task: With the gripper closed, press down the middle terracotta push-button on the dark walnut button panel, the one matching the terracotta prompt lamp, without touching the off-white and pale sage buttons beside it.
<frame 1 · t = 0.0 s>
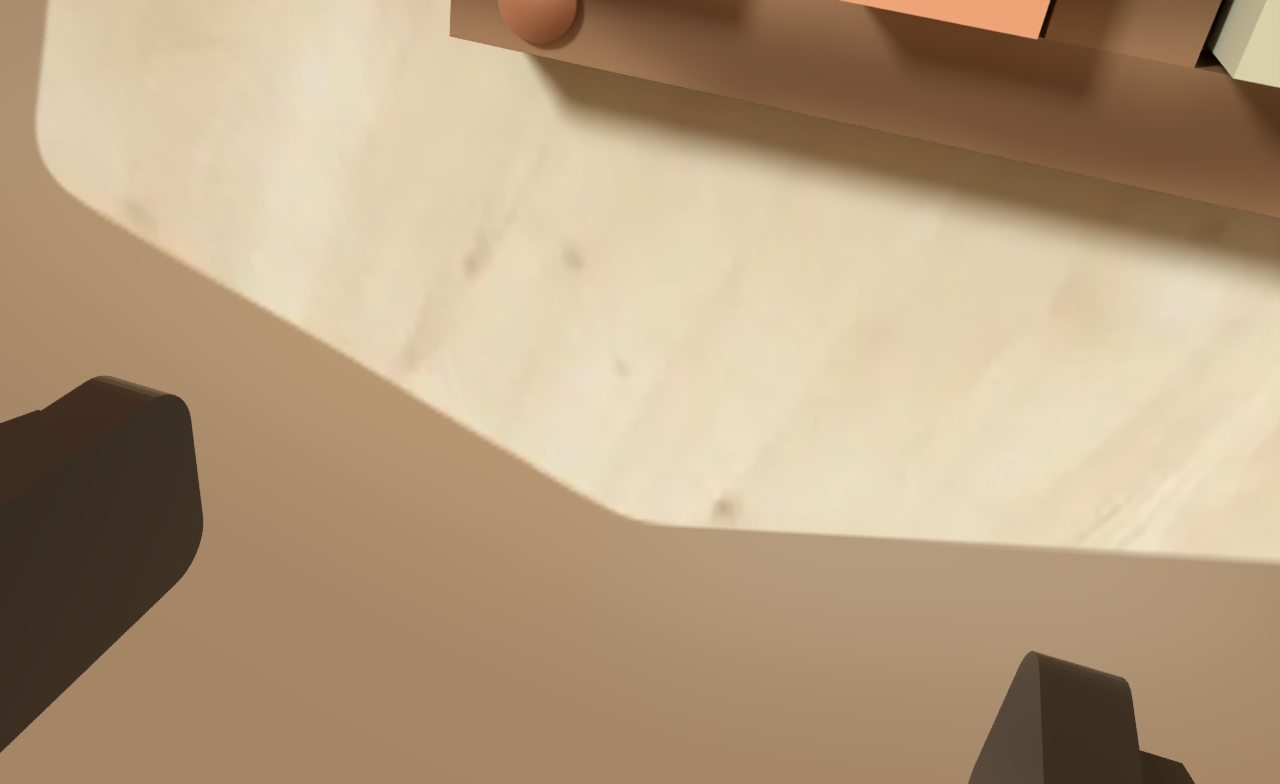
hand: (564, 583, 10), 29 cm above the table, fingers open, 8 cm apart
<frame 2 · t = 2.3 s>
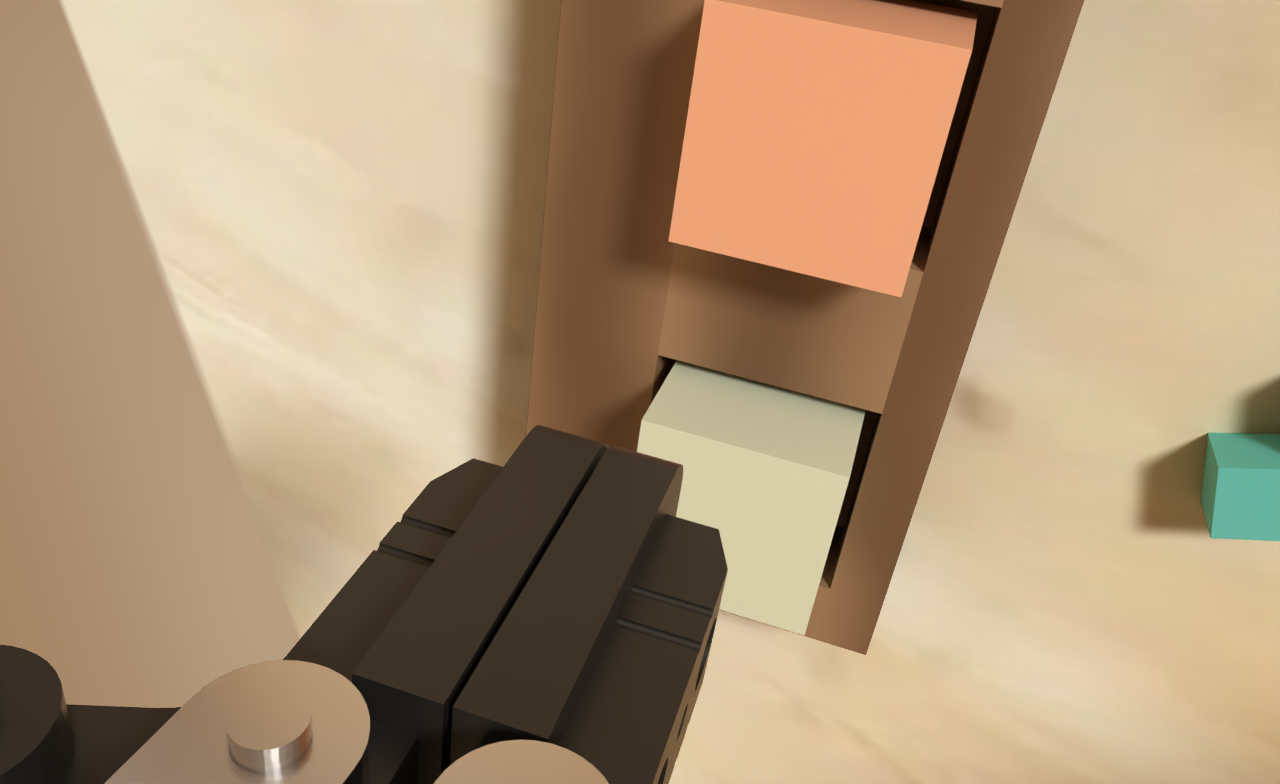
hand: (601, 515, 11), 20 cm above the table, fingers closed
terracotta button: (821, 127, 23), point 5 cm above the table, slide at 0.0 cm
button panel: (810, 72, 27), on the table
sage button: (742, 488, 28), point 5 cm above the table, slide at 0.0 cm
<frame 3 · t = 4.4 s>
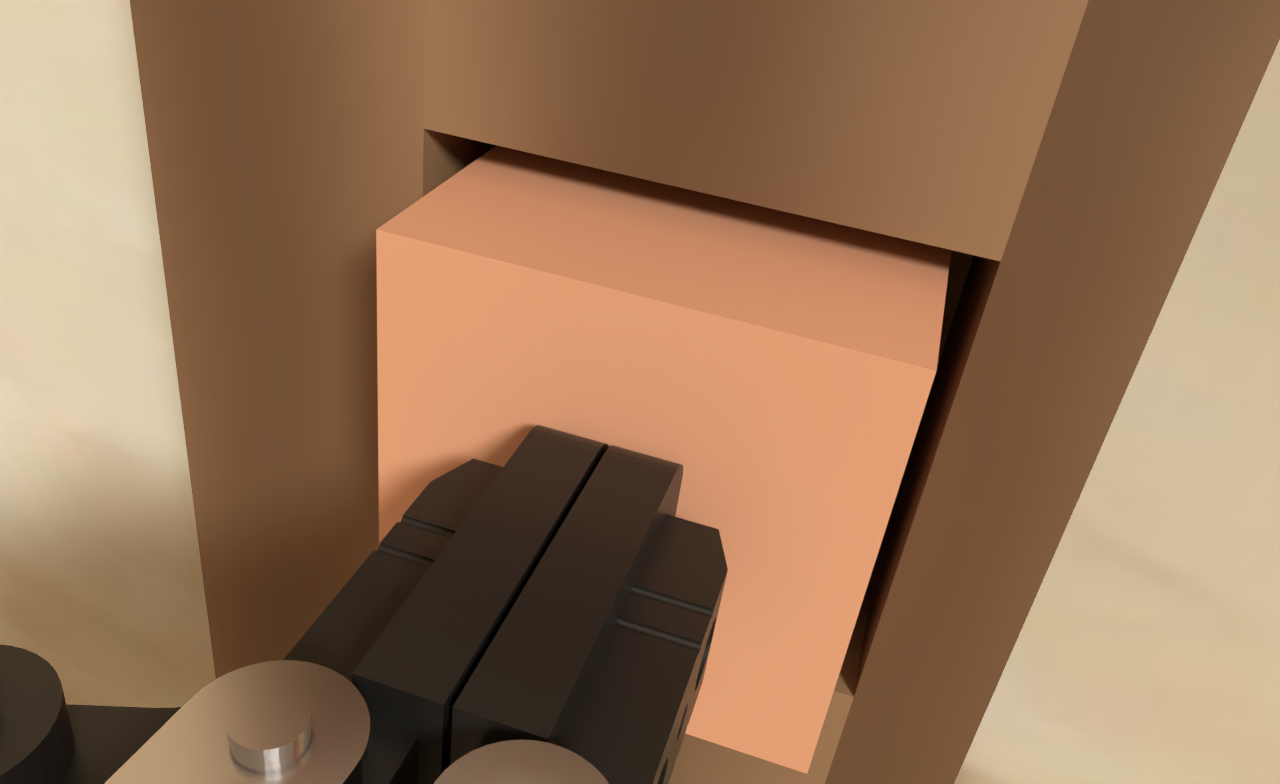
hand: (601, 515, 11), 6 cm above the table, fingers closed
terracotta button: (663, 425, 12), point 4 cm above the table, slide at 0.9 cm, touching gripper
button panel: (667, 281, 16), on the table
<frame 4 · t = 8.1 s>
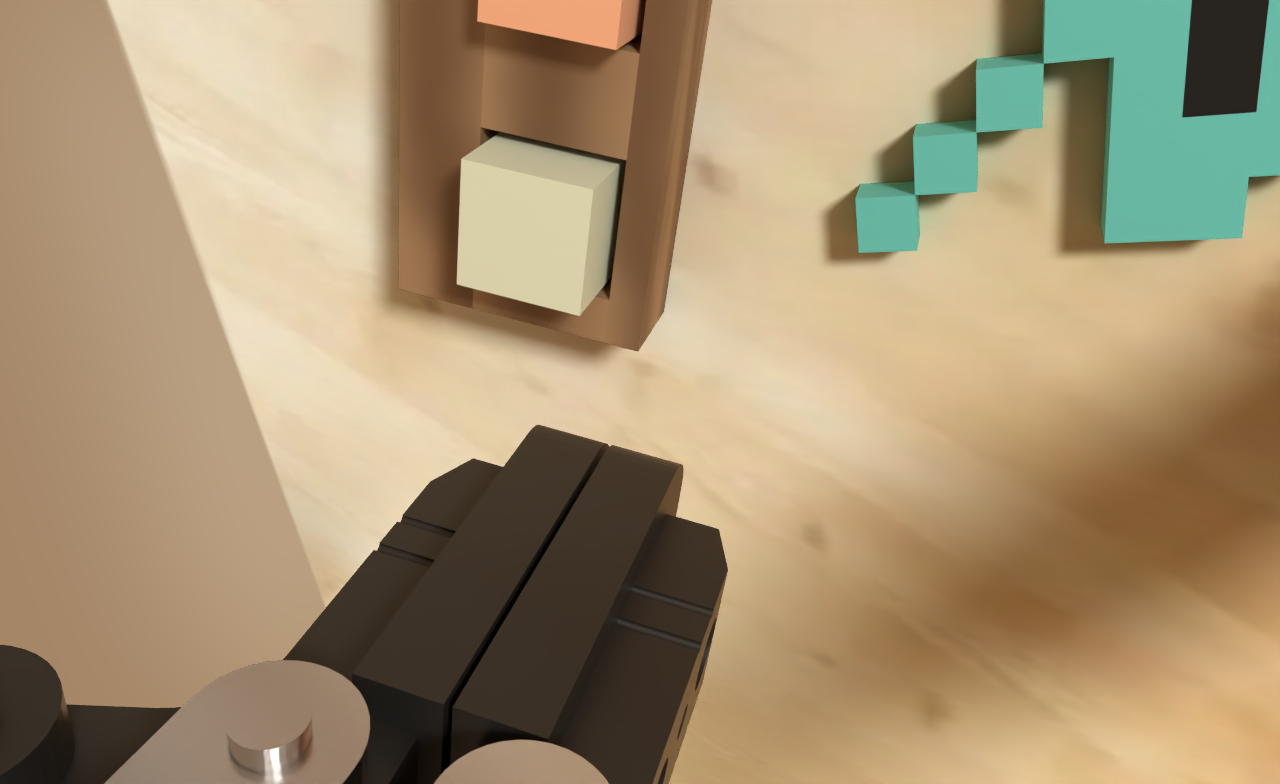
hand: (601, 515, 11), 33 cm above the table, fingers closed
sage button: (541, 221, 41), point 5 cm above the table, slide at 0.0 cm
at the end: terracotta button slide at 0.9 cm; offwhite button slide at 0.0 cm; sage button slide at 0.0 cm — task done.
